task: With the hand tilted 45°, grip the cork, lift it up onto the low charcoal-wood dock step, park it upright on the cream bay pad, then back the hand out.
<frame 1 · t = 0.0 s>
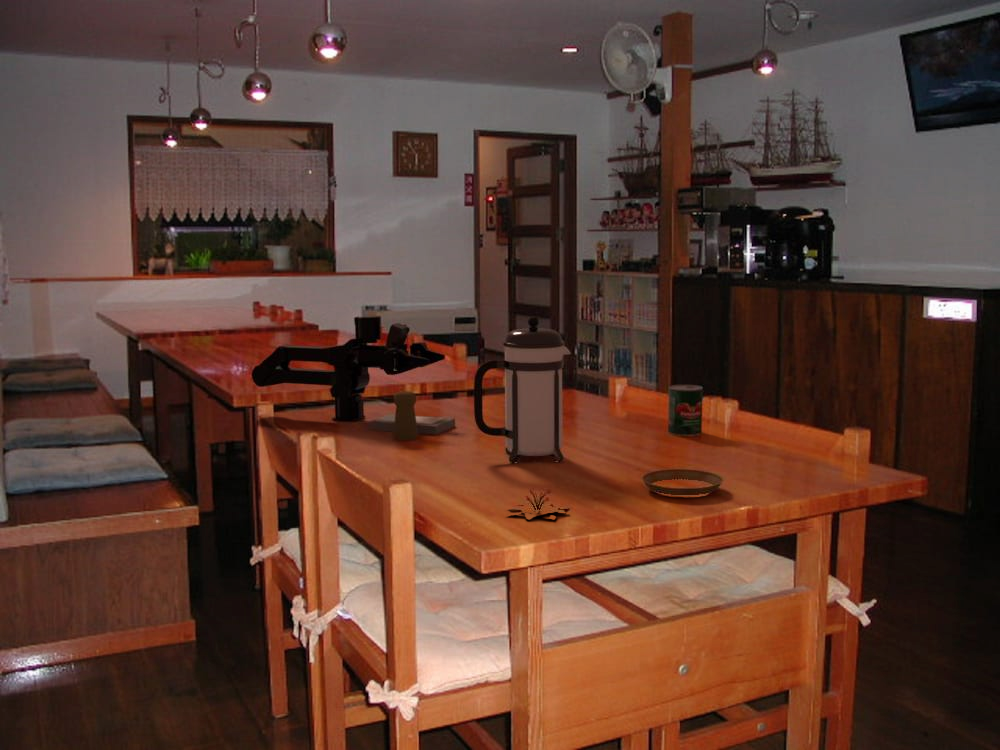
hand: (436, 359, 249), 17 cm above the table, tool horizontal, fingers open, 9 cm apart
canned tomato: (684, 433, 238), on the table
plant saucer: (682, 492, 186), on the table
coffee press: (528, 458, 214), on the table
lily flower: (538, 517, 172), on the table
cork: (405, 439, 235), on the table
dock step: (412, 428, 247), on the table
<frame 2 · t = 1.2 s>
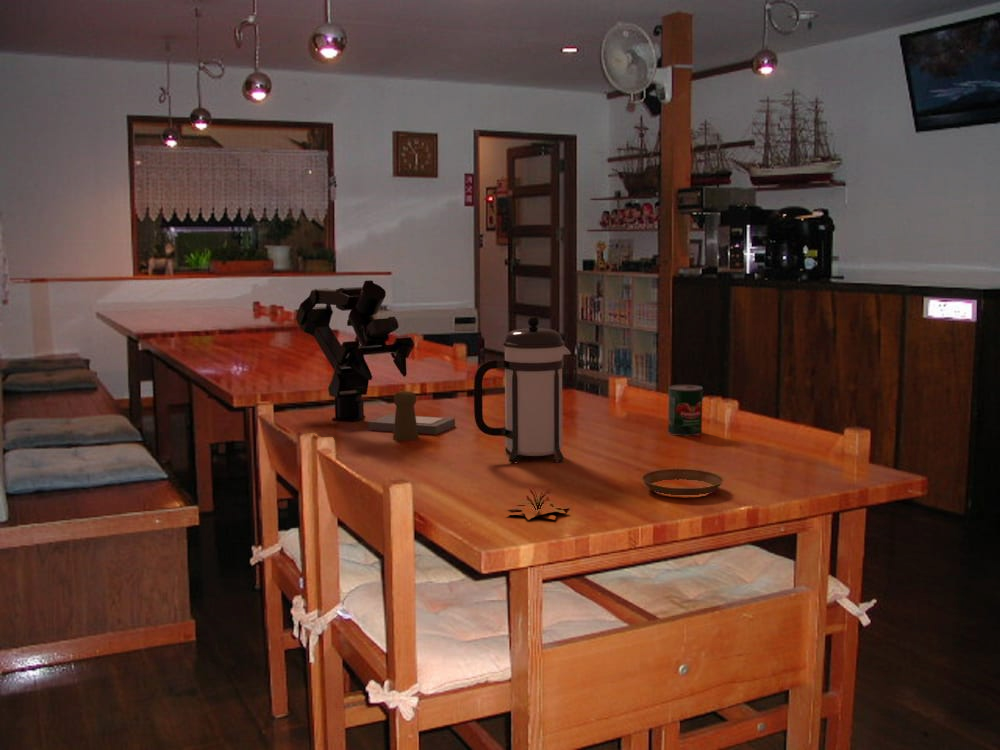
hand: (388, 377, 240), 13 cm above the table, tool tilted 45°, fingers open, 9 cm apart
nothing on the table moved.
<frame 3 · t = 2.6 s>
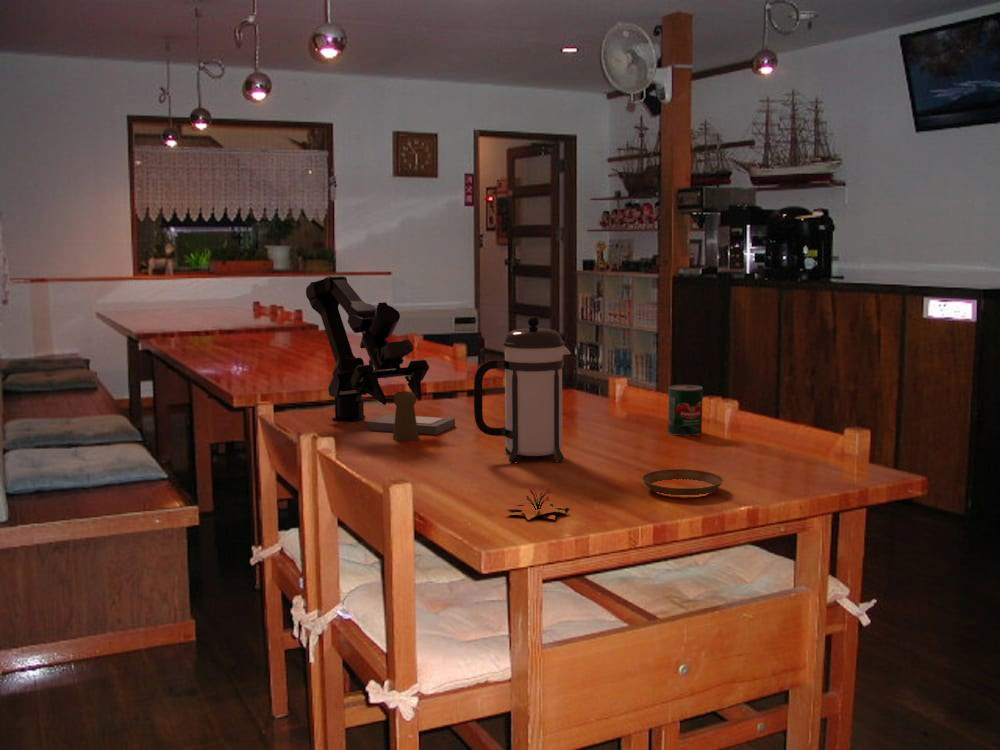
hand: (403, 401, 235), 9 cm above the table, tool tilted 45°, fingers open, 9 cm apart
nothing on the table moved.
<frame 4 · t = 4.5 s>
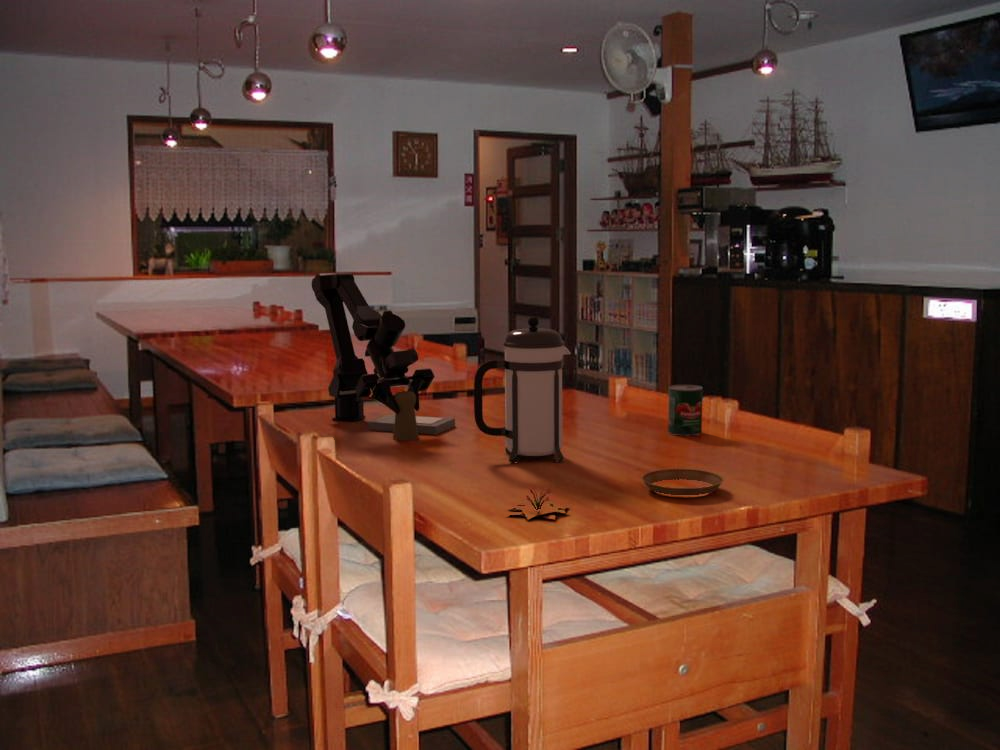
hand: (408, 411, 233), 7 cm above the table, tool tilted 45°, fingers closed on cork, 5 cm apart
cork: (405, 439, 235), on the table, touching gripper
everything else where it was.
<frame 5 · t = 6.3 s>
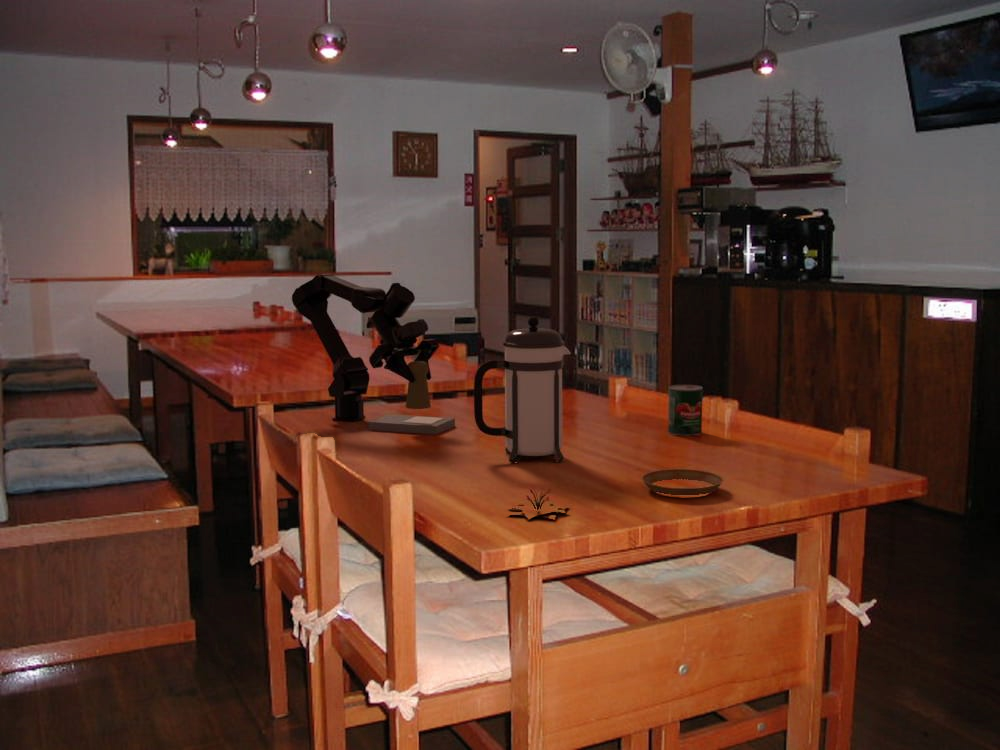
hand: (421, 380, 240), 13 cm above the table, tool tilted 45°, fingers closed on cork, 5 cm apart
cork: (418, 407, 242), point 6 cm above the table, touching gripper
everything else where it was.
when the fingers open (10 cm above the table, at t = 8.2 s): cork stays where it is, resting on dock step.
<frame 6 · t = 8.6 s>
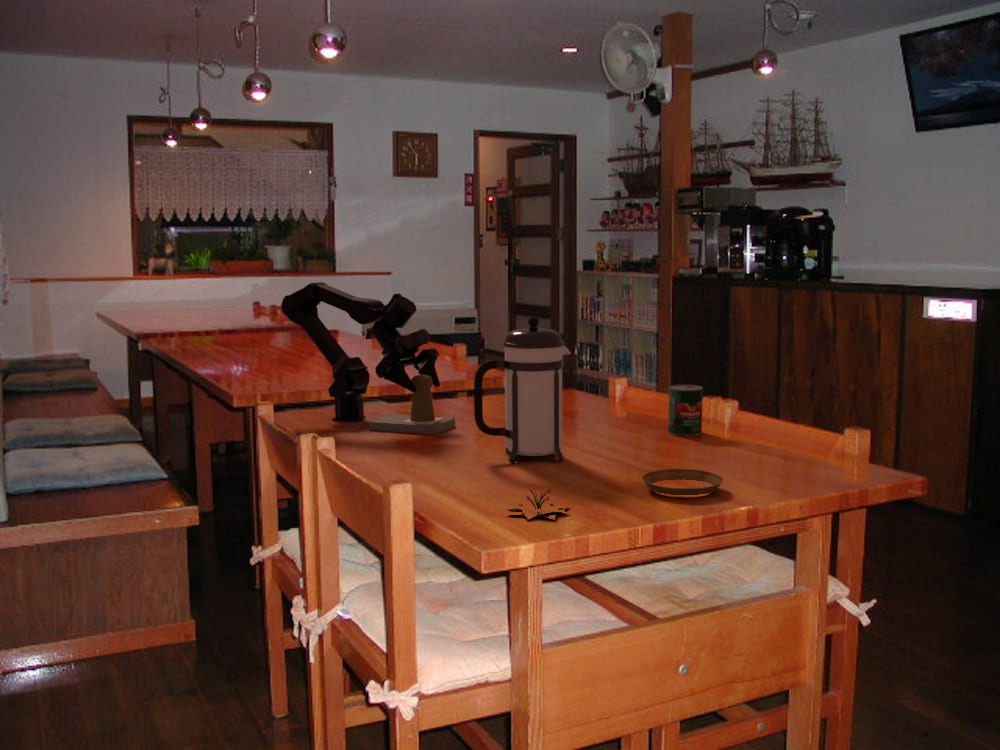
hand: (427, 388, 244), 10 cm above the table, tool tilted 45°, fingers open, 9 cm apart
cork: (422, 420, 246), point 2 cm above the table, touching dock step
everything else where it was.
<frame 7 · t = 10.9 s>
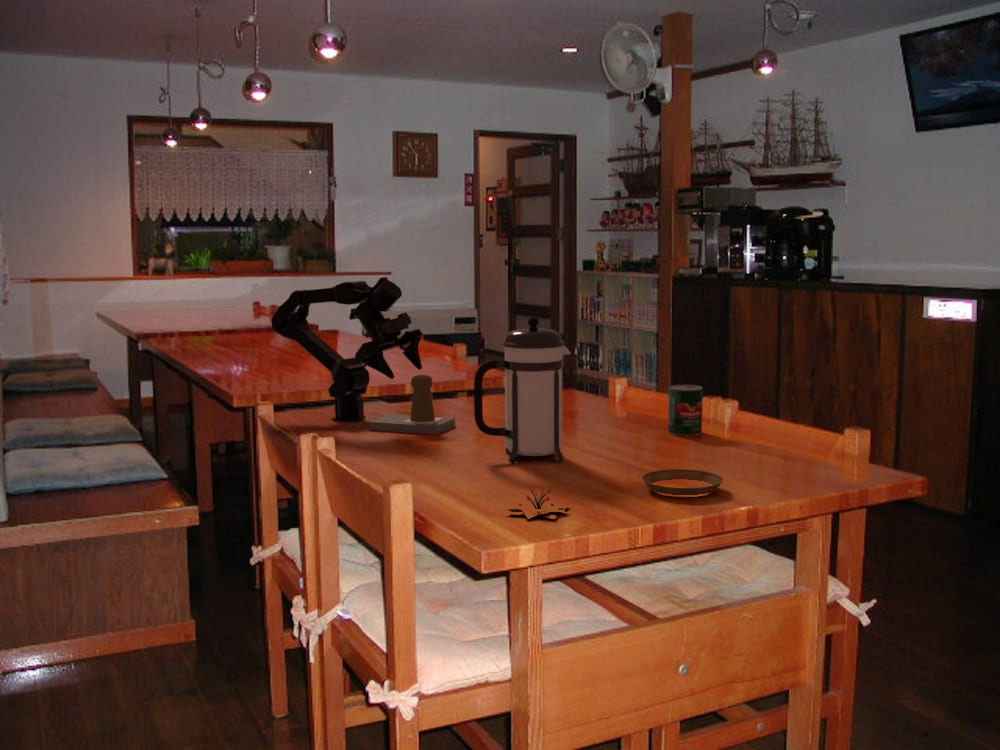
hand: (407, 373, 248), 13 cm above the table, tool tilted 40°, fingers open, 9 cm apart
nothing on the table moved.
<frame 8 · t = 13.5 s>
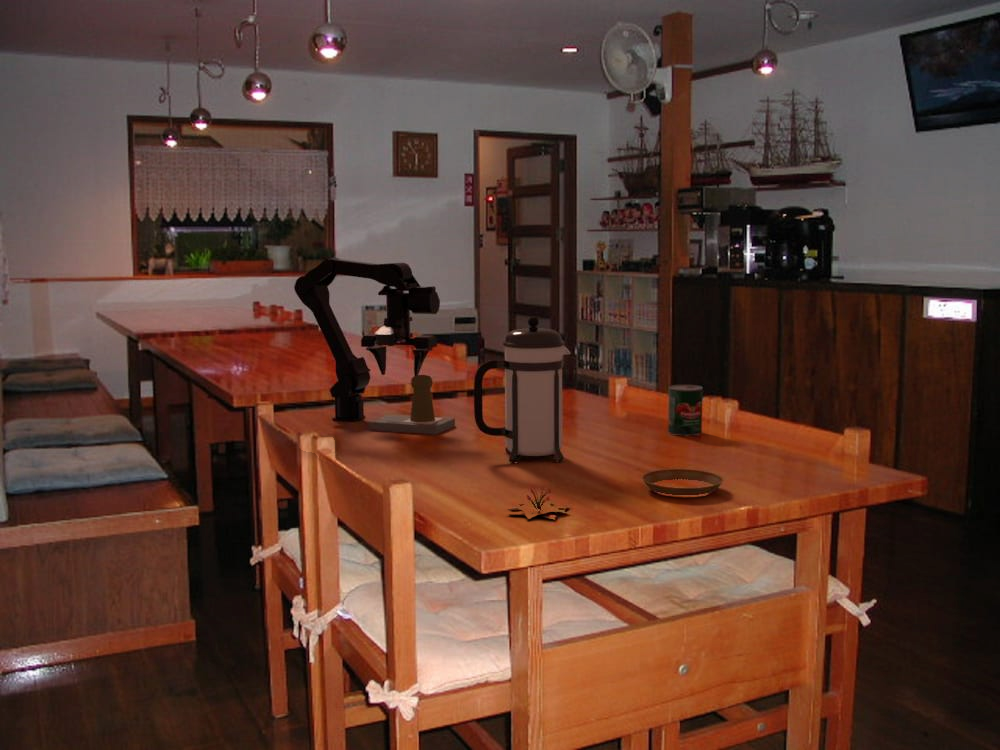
hand: (399, 375, 253), 12 cm above the table, tool pointing down, fingers open, 9 cm apart
nothing on the table moved.
at the end: cork 0.2 cm from the target spot on the dock step, point 2.0 cm above the dock step's base; cork tilted 0°; the gripper is holding nothing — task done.
